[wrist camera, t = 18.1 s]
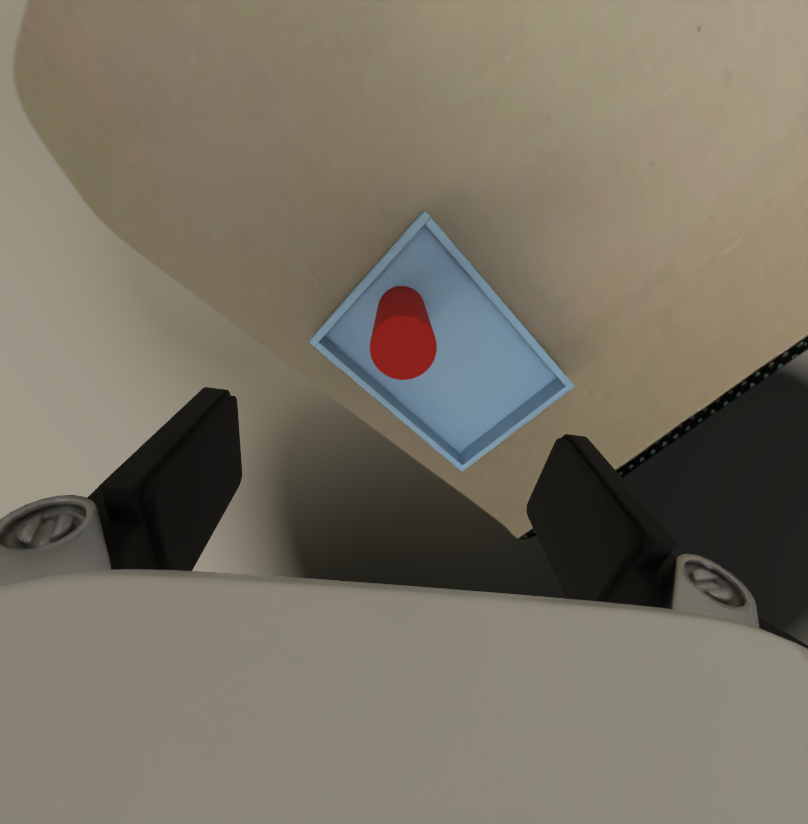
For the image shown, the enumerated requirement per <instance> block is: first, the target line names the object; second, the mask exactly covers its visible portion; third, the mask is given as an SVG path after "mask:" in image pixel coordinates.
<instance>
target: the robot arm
mask: <svg viewBox="0 0 808 824" xmlns="http://www.w3.org/2000/svg"><path fill="white" fill-rule="evenodd" d="M241 478H242V465H241V451H240V437H239V422H238V408H237V399H236V397H235V396H231V395H230V393H229V391H228V390H223V389H216V388H208V387H205V388H203V389H202V390H201V391H200V392H199V393H198V394H197V395H196V396H194V397H193V398H192V400H190V401H189V402H188V403H187V404H186V405H185V406H184V407H183V408H182V409H181V410H180V411H178V412H177V413H176V414H175V415H174V416H173V417H172V418H171V419H170V420H169V421H168V422H167V423H166V424H165V425H164V426H163V427H161V428H160V429H159V430H158V431H157V432H156V433H155V434H154V435H153V436H152V437H151V438H150V439H149V440H148V441H146V442H145V443H144V444H143V445H142V446H141V447H140V448H139V449H138V450H137V451H136V452H135V453H134V454H133V455H132V456H131V457H130V458H128V459H127V460H126V461H125V462H124V463H123V464H122V465H121V466H120V467H119V468H118V469H117V470H116V471H114V472H113V473H112V474H111V475H110V476H109V477H108V478H107V479H106V480H105V481H104V482H103V483H102V484H101V485H100V486H99V487H98V488H97V489H96V490H95V491H94V492H93V493H92V494H91V495H90V496H89V497H87V498H86V497H82V496H76V495H66V496H65V495H64V496H55V497H50V498H45V499H41V500H38V501H35V502H32V503H29V504H26V505H24V506H23V507H20V508H18V509H16V510H15V511H13V512H10V513H9V514H7V515H6V516H5V517H3V518H2V519H1V520H0V824H808V646H807V645H806V644H804V643H802V642H801V641H799V640H797V639H796V638H794V637H792V636H791V635H789V634H787V633H786V632H784V631H782V630H781V629H779V628H777V627H776V626H774V625H772V624H771V623H769V622H767V621H766V620H764V619H762V618H760V617H759V616H757V610H756V604H755V602H754V599H753V596H752V595H751V593H750V592H749V591H748V590H747V588H746V587H745V586H744V585H743V584H742V583H741V582H740V581H739V580H738V579H737V578H736V577H735V576H734V575H732V574H731V573H730V572H728V571H727V570H726V569H724V568H723V567H721V566H719V565H718V564H716V563H714V562H712V561H710V560H708V559H705V558H703V557H700V556H696V555H693V554H684V555H681V556H679V557H678V558H677V559H676V558H675V556H674V555H673V554H672V553H671V552H672V551H673V550H674V549H675V547H676V546H677V545H678V543H677V541H676V540H675V539H674V538H673V537H672V536H671V534H670V533H669V532H668V531H667V530H666V529H665V527H664V526H663V525H662V524H661V523H660V522H659V520H658V519H657V518H656V517H655V516H654V515H653V514H652V513H651V511H650V510H649V509H648V508H647V507H646V505H645V504H644V503H643V502H642V501H641V500H640V498H638V496H637V495H636V494H635V493H634V492H633V490H632V489H631V488H630V487H629V486H628V485H627V484H626V482H625V481H624V480H623V479H622V478H621V476H620V475H619V474H618V473H617V472H616V471H615V470H614V468H613V467H612V466H611V465H610V464H609V463H608V461H607V460H606V459H605V458H604V457H603V456H602V454H601V453H600V452H599V451H598V450H597V449H596V448H595V446H594V445H593V444H592V443H591V442H590V441H589V439H588V438H586V437H583V436H576V435H568V434H566V435H564V436H563V437H562V438H559V439H557V440H556V442H555V444H554V446H553V448H552V450H551V452H550V455H549V457H548V459H547V461H546V464H545V466H544V468H543V470H542V472H541V475H540V477H539V479H538V481H537V484H536V486H535V488H534V490H533V492H532V495H531V497H530V499H529V501H528V504H527V515H528V517H529V520H530V522H531V524H532V526H533V529H534V531H535V533H536V535H537V538H538V540H539V542H540V544H541V546H542V549H543V551H544V553H545V555H546V558H547V560H548V562H549V564H550V567H551V569H552V571H553V573H554V576H555V578H556V580H557V582H558V585H559V587H560V589H561V591H562V593H563V596H564V598H565V599H562V598H550V597H539V596H527V595H515V594H503V593H491V592H490V593H489V592H477V591H465V590H453V589H440V588H426V587H413V586H401V585H388V584H375V583H361V582H348V581H334V580H320V579H306V578H292V577H278V576H265V575H251V574H250V575H249V574H233V573H215V572H214V573H213V572H197V571H192V570H193V568H194V566H195V564H196V562H197V561H198V559H199V557H200V555H201V553H202V552H203V550H204V548H205V546H206V544H207V543H208V541H209V539H210V537H211V535H212V534H213V532H214V530H215V528H216V527H217V525H218V523H219V521H220V519H221V518H222V516H223V514H224V512H225V510H226V508H227V507H228V505H229V503H230V501H231V500H232V498H233V496H234V494H235V492H236V490H237V489H238V487H239V485H240V482H241Z"/></svg>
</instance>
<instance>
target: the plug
mask: <svg viewBox="0 0 808 824" xmlns="http://www.w3.org/2000/svg"><path fill="white" fill-rule="evenodd" d="M436 352H437V343H436V338H435V335H434V332H433V329H432V326H431V323H430V319H429V316H428V313H427V310H426V307H425V304H424V301H423V299H422V297H421V296H420V294H419V293H418V292H417V291H415V290H414V289H412V288H410V287H407V286H396V287H393V288H391V289H389V290H387V291H386V292H385V293H384V294H383V295H382V297H381V299H380V301H379V303H378V308H377V313H376V317H375V322H374V327H373V332H372V336H371V341H370V354H371V358H372V361H373V362H374V364H375V366H376V367H377V368H378V369H379V370H380V371H381V372H382V373H383V374H385V375H386V376H388V377H390V378H393V379H398V380H408V379H413V378H416V377H418V376H420V375H422V374H423V373H425V372H426V371H427V370H428V369H429V368H430V366H431V365H432V363H433V362H434V359H435V357H436Z"/></svg>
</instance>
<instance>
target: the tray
mask: <svg viewBox="0 0 808 824" xmlns="http://www.w3.org/2000/svg"><path fill="white" fill-rule="evenodd" d="M396 286H407V287H410V288H412V289H414V290H415V291H417V292H418V293H419V294H420V296H421V297H422V299H423V301H424V304H425V307H426V310H427V313H428V316H429V319H430V323H431V326H432V329H433V332H434V335H435V338H436V343H437V352H436V357H435V359H434V362H433V363H432V365H431V366H430V368H429V369H428V370H427V371H426V372H425V373H423V374H422V375H420V376H418V377H416V378H413V379H408V380H398V379H393V378H390V377H388V376H386V375H385V374H383V373H382V372H381V371H380V370H379V369H378V368H377V367H376V366H375V364H374V362H373V361H372V358H371V354H370V341H371V336H372V332H373V327H374V322H375V317H376V313H377V308H378V303H379V301H380V299H381V297H382V295H383V294H384V293H385V292H386V291H387V290H389V289H391V288H393V287H396ZM309 343H310V344H311V345H313V346H315V348H316V349H317V350H319V351H320V352H321V353H322V354H323V355H324V356H326V357H327V358H328V359H329V360H330V361H332V362H333V363H334V364H335V365H336V366H337V367H339V368H340V369H341V370H342V371H343V372H345V373H346V374H347V375H348V376H349V377H350V378H352V379H353V380H354V381H355V382H356V383H358V384H359V385H360V386H361V387H362V388H363V389H365V390H366V391H367V392H368V393H369V394H371V395H372V396H373V397H374V398H375V399H376V400H378V401H379V402H380V403H381V404H382V405H384V406H385V407H386V408H387V409H388V410H389V411H391V412H392V413H393V414H394V415H395V416H397V417H398V418H399V419H400V420H401V421H402V422H404V423H405V424H406V425H407V426H408V427H410V428H411V429H412V430H413V431H414V432H415V433H417V434H418V435H419V436H420V437H421V438H423V439H424V440H425V441H426V442H427V443H428V444H430V445H431V446H432V447H433V448H434V449H436V450H437V451H438V452H439V453H440V454H441V455H443V456H444V457H445V458H446V459H447V460H449V461H450V462H451V463H452V464H453V465H454V466H456V467H457V468H458V469H459V470H460V471H464V470H465V469H466V468H467V467H469V466H470V465H471V464H473V463H474V462H475V461H477V460H478V459H479V458H481V457H482V456H483V455H485V454H486V453H487V452H489V451H490V450H491V449H493V448H494V447H495V446H497V445H498V444H499V443H500V442H502V441H503V440H504V439H506V438H507V437H508V436H510V435H511V434H512V433H514V432H515V431H516V430H518V429H519V428H520V427H522V426H523V425H524V424H526V423H527V422H528V421H530V420H531V419H532V418H533V417H535V416H536V415H537V414H539V413H540V412H541V411H543V410H544V409H545V408H547V407H548V406H549V405H551V404H552V403H553V402H555V401H556V400H557V399H559V398H560V397H561V396H563V395H564V394H565V393H567V392H568V391H569V390H570V389H572V388H573V387H574V384H573V383H572V382H571V381H570V380H569V379H568V377H567V376H566V375H565V374H564V373H563V372H562V370H561V369H560V368H559V367H558V366H557V365H556V363H555V362H554V361H553V360H552V359H551V357H550V356H549V355H548V354H547V353H546V352H545V350H544V349H543V348H542V347H541V346H540V345H539V343H538V342H537V341H536V340H535V339H534V337H533V336H532V335H531V334H530V333H529V332H528V330H527V329H526V328H525V327H524V326H523V325H522V323H521V322H520V321H519V320H518V319H517V318H516V316H515V315H514V314H513V313H512V312H511V310H510V309H509V308H508V307H507V306H506V305H505V303H504V302H503V301H502V300H501V299H500V298H499V296H498V295H497V294H496V293H495V292H494V291H493V289H492V288H491V287H490V286H489V285H488V283H487V282H486V281H485V280H484V279H483V278H482V276H481V275H480V274H479V273H478V272H477V271H476V269H475V268H474V267H473V266H472V265H471V263H470V262H469V261H468V260H467V259H466V258H465V256H464V255H463V254H462V253H461V252H460V251H459V249H458V248H457V247H456V246H455V245H454V244H453V242H452V241H451V240H450V239H449V238H448V236H447V235H446V234H445V233H444V232H443V231H442V229H441V228H440V227H439V226H438V225H437V224H436V222H435V221H434V220H433V219H432V218H430V215H429V214H428V213H427V212H426V211H422V212H421V213H420V214H419V216H418V217H417V218H416V219H415V220H414V221H413V222H412V223H411V225H410V226H409V227H408V228H407V229H406V230H405V231H404V233H403V234H402V235H401V236H400V237H399V238H398V239H397V240H396V242H395V243H394V244H393V245H392V246H391V247H390V248H389V250H388V251H387V252H386V253H385V254H384V255H383V256H382V257H381V259H380V260H379V261H378V262H377V263H376V264H375V265H374V266H373V268H372V269H371V270H370V271H369V272H368V273H367V274H366V276H365V277H364V278H363V279H362V280H361V281H360V282H359V283H358V285H357V286H356V287H355V288H354V289H353V290H352V291H351V292H350V294H349V295H348V296H347V297H346V298H345V299H344V300H343V302H342V303H341V304H340V305H339V306H338V307H337V308H336V309H335V311H334V312H333V313H332V314H331V315H330V316H329V317H328V319H327V320H326V321H325V322H324V323H323V324H322V325H321V326H320V328H319V329H318V330H317V331H316V332H315V333H314V335H313V336H312V338H311V339H310V341H309Z"/></svg>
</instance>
